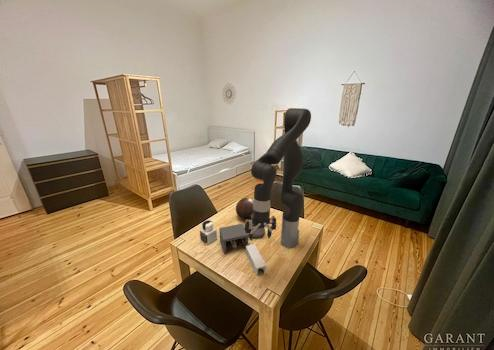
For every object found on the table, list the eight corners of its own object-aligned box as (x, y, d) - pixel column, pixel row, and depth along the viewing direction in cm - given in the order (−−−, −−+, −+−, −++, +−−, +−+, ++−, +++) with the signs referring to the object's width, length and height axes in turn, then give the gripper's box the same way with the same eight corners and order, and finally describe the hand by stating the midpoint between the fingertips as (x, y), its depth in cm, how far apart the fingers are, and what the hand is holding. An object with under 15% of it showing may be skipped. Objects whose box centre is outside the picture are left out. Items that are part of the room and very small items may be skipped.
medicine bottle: (200, 239, 122) (198, 222, 117) (209, 234, 127) (208, 217, 122) (207, 245, 117) (206, 227, 113) (217, 239, 122) (216, 222, 118)
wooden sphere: (259, 222, 139) (260, 202, 134) (238, 225, 135) (238, 205, 130) (253, 211, 152) (253, 193, 147) (234, 213, 149) (233, 195, 143)
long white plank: (245, 253, 111) (245, 246, 109) (254, 251, 113) (254, 244, 111) (256, 276, 97) (256, 268, 95) (265, 273, 99) (266, 265, 97)
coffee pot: (242, 233, 128) (242, 212, 122) (255, 225, 135) (255, 206, 130) (268, 250, 113) (270, 227, 108) (281, 240, 121) (282, 219, 115)
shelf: (248, 248, 115) (248, 234, 111) (224, 254, 110) (223, 239, 107) (242, 236, 124) (242, 223, 121) (220, 241, 120) (219, 228, 117)
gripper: (273, 201, 94) (271, 231, 99) (243, 204, 90) (243, 235, 96) (280, 209, 87) (277, 241, 92) (247, 213, 83) (246, 245, 89)
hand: (259, 238), depth 94 cm, fingers open, 8 cm apart
